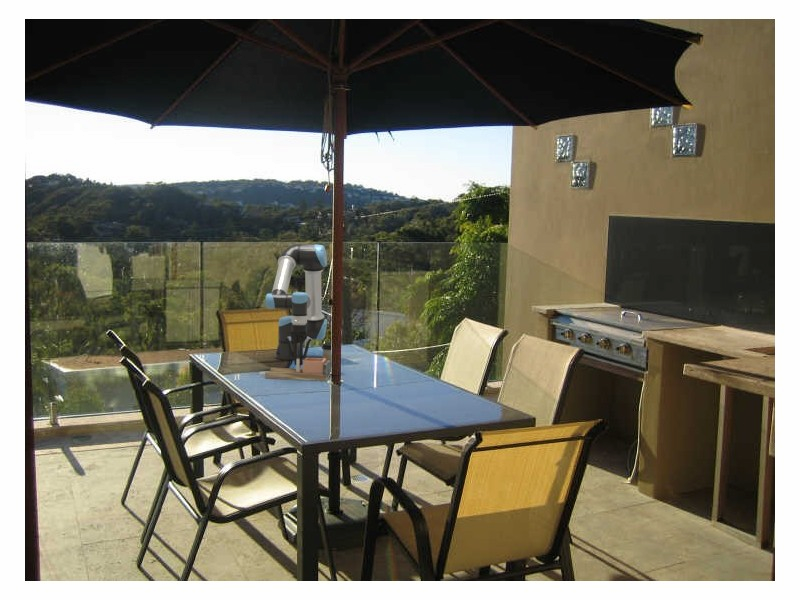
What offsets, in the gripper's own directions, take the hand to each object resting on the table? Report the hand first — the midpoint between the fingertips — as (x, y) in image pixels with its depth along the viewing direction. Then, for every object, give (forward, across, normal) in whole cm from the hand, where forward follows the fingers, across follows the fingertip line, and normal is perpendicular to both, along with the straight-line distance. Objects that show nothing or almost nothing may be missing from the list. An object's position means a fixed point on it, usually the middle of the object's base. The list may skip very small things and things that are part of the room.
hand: (298, 371), depth 406 cm
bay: (+3, 0, 0) cm, 3 cm away
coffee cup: (+3, +14, +13) cm, 19 cm away
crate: (+2, +8, 0) cm, 8 cm away
